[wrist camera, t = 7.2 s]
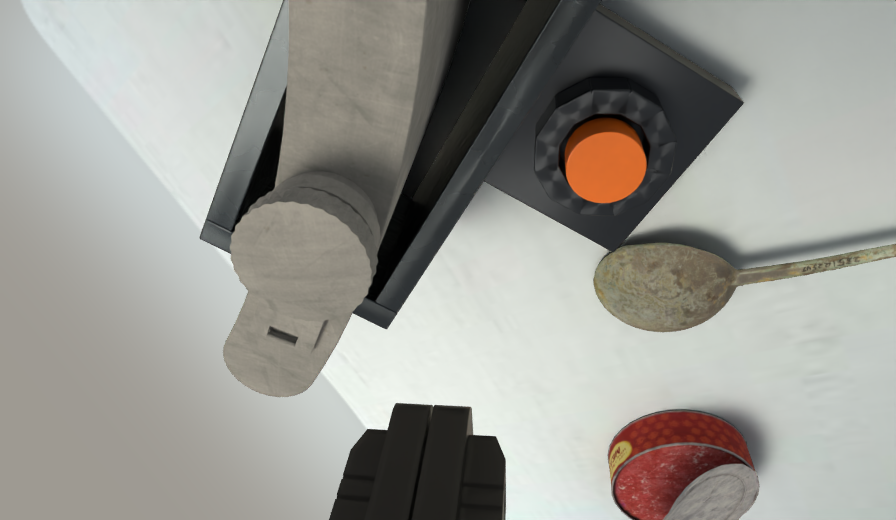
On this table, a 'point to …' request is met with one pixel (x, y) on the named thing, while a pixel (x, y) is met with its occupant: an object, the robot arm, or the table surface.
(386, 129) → the hip flask
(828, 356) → the table surface
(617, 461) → the canned food
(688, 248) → the soupspoon
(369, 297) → the black storage bin
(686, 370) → the table surface
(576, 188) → the button
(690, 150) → the control panel
